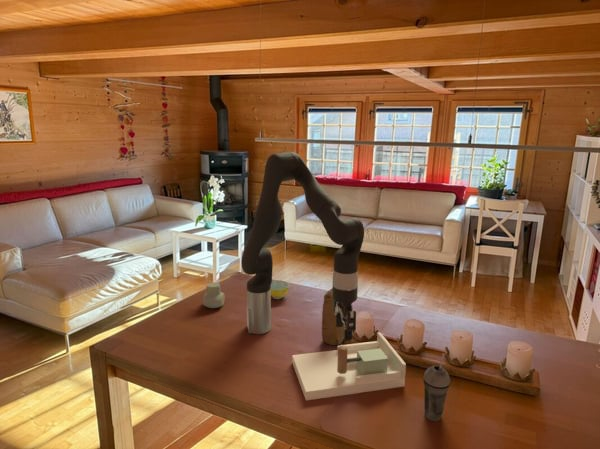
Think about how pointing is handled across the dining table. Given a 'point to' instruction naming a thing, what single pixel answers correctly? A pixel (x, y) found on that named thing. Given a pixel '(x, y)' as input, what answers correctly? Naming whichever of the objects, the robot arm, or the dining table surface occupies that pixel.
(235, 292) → the dining table surface
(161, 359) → the dining table surface
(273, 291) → the bowl
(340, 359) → the pull block
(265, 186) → the robot arm
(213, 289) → the air freshener
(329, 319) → the brown tall faceted piece
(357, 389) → the shelf
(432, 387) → the beverage cup
